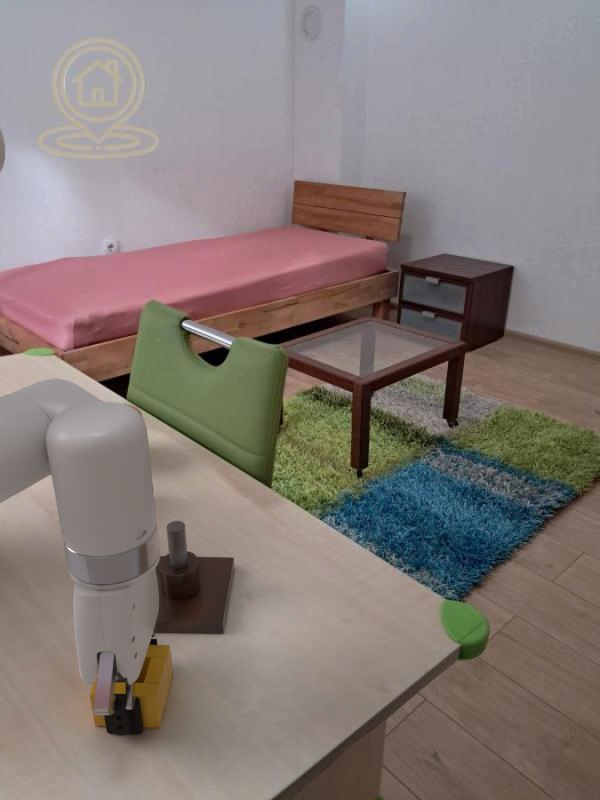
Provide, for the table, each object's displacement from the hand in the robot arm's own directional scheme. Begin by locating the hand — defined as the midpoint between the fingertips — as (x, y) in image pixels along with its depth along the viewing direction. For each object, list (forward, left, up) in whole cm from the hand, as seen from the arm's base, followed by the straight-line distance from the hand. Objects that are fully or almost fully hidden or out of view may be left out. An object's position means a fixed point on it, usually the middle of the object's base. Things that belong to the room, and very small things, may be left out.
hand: (135, 698), depth 60 cm
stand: (+2, +14, 0) cm, 14 cm away
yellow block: (0, 0, 0) cm, 0 cm away
